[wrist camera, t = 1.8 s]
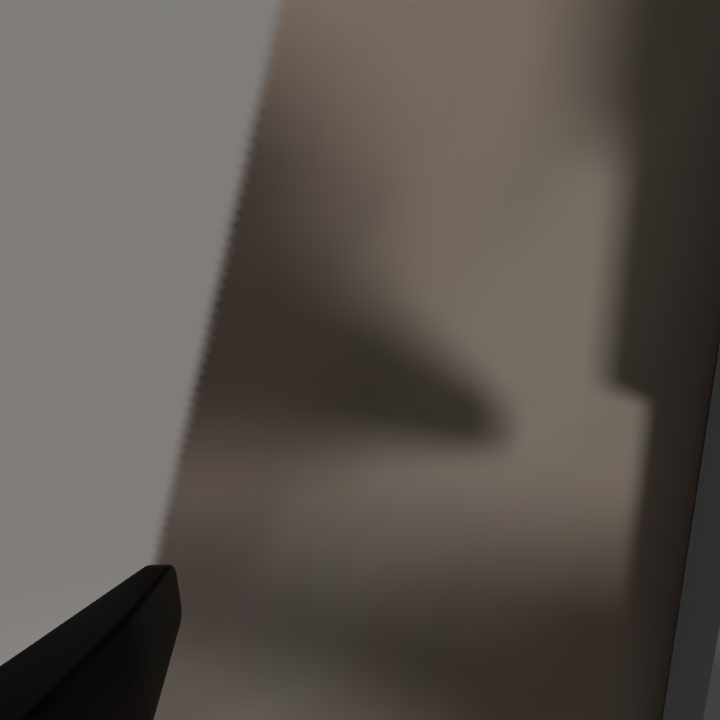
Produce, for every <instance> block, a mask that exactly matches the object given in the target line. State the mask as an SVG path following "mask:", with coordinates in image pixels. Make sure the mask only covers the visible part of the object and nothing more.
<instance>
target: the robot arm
mask: <svg viewBox="0 0 720 720" xmlns="http://www.w3.org/2000/svg"><path fill="white" fill-rule="evenodd" d="M180 622H181V601H180V594H179V588H178V581H177V574H176V570H175V568H174V567H173V566H172V565H169V564H168V565H148V566H146V567H144V568H142V569H141V570H140V571H138V572H137V573H135V574H134V575H132V576H131V577H129V578H128V579H126V580H125V581H124V582H122V583H121V584H119V585H118V586H116V587H115V588H114V589H112V590H111V591H109V592H108V593H106V594H105V595H103V596H102V597H100V598H99V599H98V600H96V601H94V602H93V603H92V604H90V605H89V606H87V607H86V608H84V609H83V610H81V611H80V612H78V613H77V614H76V615H74V616H73V617H71V618H70V619H68V620H67V621H65V622H64V623H63V624H61V625H60V626H58V627H57V628H55V629H54V630H52V631H51V632H49V633H48V634H47V635H45V636H44V637H42V638H41V639H39V640H38V641H36V642H35V643H33V644H32V645H31V646H29V647H28V648H26V649H25V650H23V651H22V652H20V653H19V654H17V655H16V656H15V657H13V658H12V659H10V660H9V661H7V662H6V663H4V664H3V665H1V666H0V720H153V719H154V716H155V712H156V709H157V705H158V702H159V698H160V695H161V691H162V687H163V684H164V680H165V677H166V673H167V669H168V666H169V662H170V659H171V655H172V651H173V648H174V644H175V641H176V637H177V633H178V630H179V626H180Z"/></svg>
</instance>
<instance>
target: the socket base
mask: <svg viewBox="0 0 720 720" xmlns="http://www.w3.org/2000/svg"><path fill="white" fill-rule="evenodd" d="M662 720H720V343H719V350H718V357H717V363H716V370H715V376H714V383H713V390H712V396H711V403H710V409H709V416H708V422H707V429H706V436H705V442H704V449H703V455H702V462H701V469H700V475H699V482H698V488H697V495H696V502H695V508H694V515H693V521H692V528H691V534H690V541H689V548H688V554H687V561H686V567H685V574H684V581H683V587H682V594H681V600H680V607H679V613H678V620H677V627H676V633H675V640H674V646H673V653H672V660H671V666H670V673H669V679H668V686H667V693H666V699H665V706H664V712H663V719H662Z"/></svg>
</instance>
